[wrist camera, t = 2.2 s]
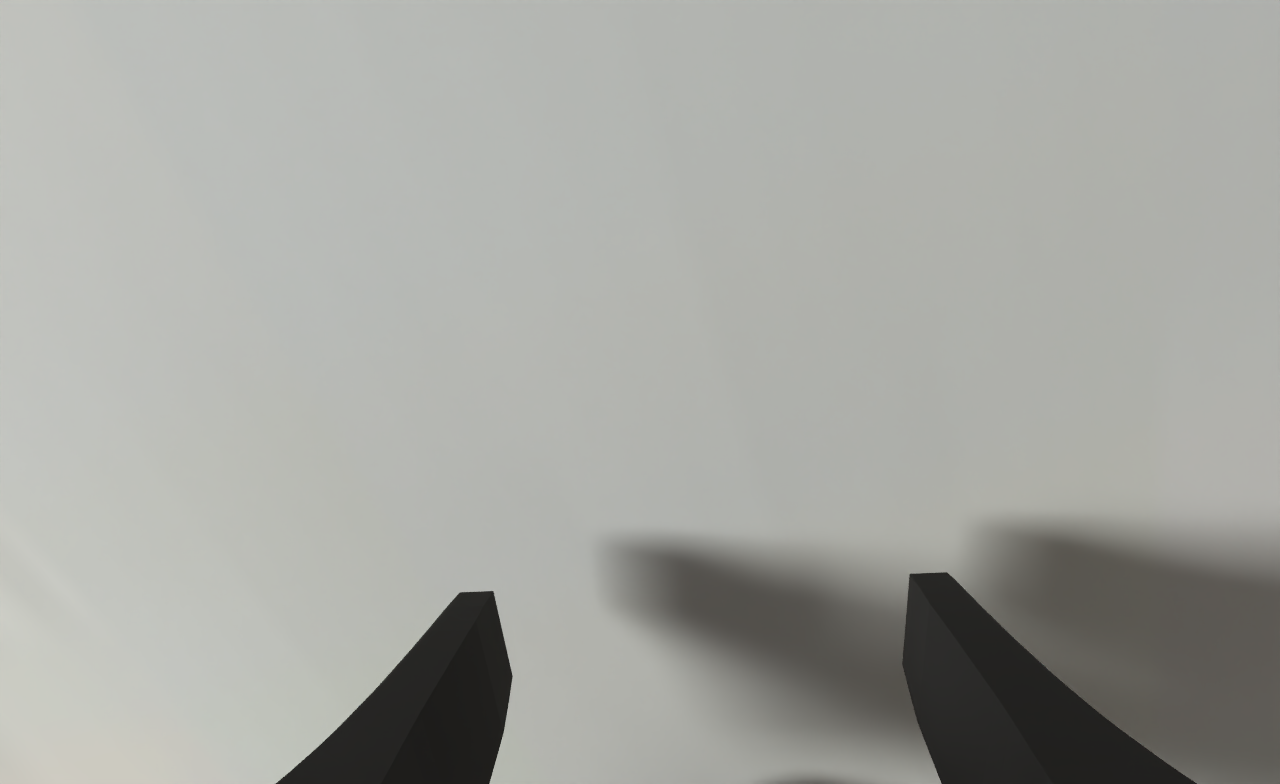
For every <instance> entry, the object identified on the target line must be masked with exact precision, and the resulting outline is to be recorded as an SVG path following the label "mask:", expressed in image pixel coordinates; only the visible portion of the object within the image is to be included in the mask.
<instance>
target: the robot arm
mask: <svg viewBox="0 0 1280 784" xmlns="http://www.w3.org/2000/svg"><path fill="white" fill-rule="evenodd" d="M903 668H904V672H905V676H906V680H907V684H908V688H909V692H910V696H911V699H912V703H913V706H914V710H915V714H916V717H917V721H918V724H919V727H920V729H921V732H922V734H923V737H924V740H925V742H926V745H927V747H928V750H929V752H930V755H931V758H932V760H933V763H934V765H935V768H936V770H937V773H938V775H939V778H940V780H941V783H942V784H1197V783H1195V782H1194V781H1192V780H1191V779H1189V778H1188V777H1186V776H1185V775H1183V774H1182V773H1180V772H1179V771H1177V770H1176V769H1174V768H1173V767H1171V766H1170V765H1168V764H1167V763H1166V762H1164V761H1163V760H1161V759H1160V758H1159V757H1157V756H1156V755H1154V754H1153V753H1152V752H1150V751H1149V750H1148V749H1146V748H1145V747H1143V746H1142V745H1141V744H1139V743H1138V742H1137V741H1135V740H1134V739H1133V738H1131V737H1130V736H1128V735H1127V734H1126V733H1124V732H1123V731H1122V730H1120V729H1119V728H1118V727H1116V726H1115V725H1114V724H1112V723H1111V722H1110V721H1109V720H1107V719H1106V718H1105V717H1103V716H1102V715H1101V714H1100V713H1098V712H1097V711H1096V710H1095V709H1093V708H1092V707H1091V706H1090V705H1089V704H1087V703H1086V702H1085V701H1084V700H1083V699H1081V698H1080V697H1079V696H1078V695H1077V694H1075V693H1074V692H1073V691H1072V690H1071V689H1069V688H1068V687H1067V686H1066V685H1065V684H1064V683H1063V682H1061V681H1060V680H1059V679H1058V678H1057V677H1056V676H1055V675H1053V674H1052V673H1051V672H1050V671H1049V670H1048V669H1047V668H1046V667H1045V666H1043V665H1042V664H1041V663H1040V662H1039V661H1038V660H1037V659H1036V658H1035V657H1034V656H1033V655H1031V654H1030V653H1029V652H1028V651H1027V650H1026V649H1025V648H1024V647H1023V646H1022V645H1021V644H1019V643H1018V642H1017V641H1016V640H1015V639H1014V638H1013V637H1012V636H1011V635H1010V634H1009V633H1008V632H1007V631H1006V630H1005V629H1004V628H1003V627H1002V626H1001V625H1000V624H999V623H998V622H997V621H996V620H995V619H994V618H993V617H992V616H991V615H990V614H988V613H987V612H986V611H985V610H984V609H983V608H982V607H981V606H980V605H979V604H978V603H977V602H976V601H975V599H974V598H973V597H972V596H971V595H970V594H969V593H968V592H967V591H966V590H965V589H964V588H963V587H962V586H961V585H960V584H959V583H958V582H957V581H956V580H955V579H954V578H952V577H951V576H950V575H949V574H948V573H947V572H946V573H922V574H910V578H909V590H908V602H907V615H906V627H905V639H904V652H903ZM511 683H512V672H511V668H510V663H509V659H508V654H507V650H506V646H505V641H504V637H503V632H502V628H501V623H500V619H499V614H498V610H497V606H496V601H495V597H494V592H493V591H486V592H461V593H459V594H458V595H457V596H456V597H455V598H454V600H453V601H452V602H451V603H450V604H449V605H448V606H447V608H446V609H445V610H444V611H443V612H442V614H441V615H440V616H439V617H438V618H437V619H436V621H435V622H434V623H433V624H432V625H431V627H430V628H429V629H428V630H427V631H426V633H425V634H424V635H423V636H422V637H421V638H420V640H419V641H418V642H417V643H416V644H415V645H414V647H413V648H412V649H411V650H410V651H409V652H408V654H407V655H406V656H405V657H404V658H403V659H402V660H401V661H400V663H399V664H398V665H397V666H396V667H395V668H394V669H393V671H392V672H391V673H390V674H389V675H388V676H387V677H386V678H385V680H384V681H383V682H382V683H381V684H380V685H379V686H378V687H377V688H376V689H375V690H374V692H373V693H372V694H371V695H370V696H369V697H368V698H367V699H366V700H365V701H364V702H363V703H362V704H361V705H360V706H359V707H358V708H357V709H356V710H355V711H354V712H353V713H352V714H351V715H350V716H349V717H348V718H347V719H346V720H345V721H344V722H343V724H342V725H341V726H340V727H338V728H337V729H336V730H335V731H334V732H333V733H332V734H331V735H330V736H329V737H328V738H327V739H326V740H325V741H324V742H323V743H322V744H321V745H320V746H319V747H318V748H316V749H315V750H314V751H313V752H312V753H311V754H310V755H308V756H307V757H306V758H305V759H304V760H303V761H302V762H301V763H299V764H298V765H297V766H296V767H295V768H294V769H293V770H292V771H290V772H289V773H288V774H287V775H286V776H284V777H283V778H282V779H281V780H280V781H278V782H277V783H276V784H489V783H490V779H491V776H492V772H493V769H494V765H495V762H496V758H497V754H498V751H499V747H500V744H501V740H502V736H503V732H504V727H505V721H506V715H507V709H508V703H509V696H510V690H511Z"/></svg>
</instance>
